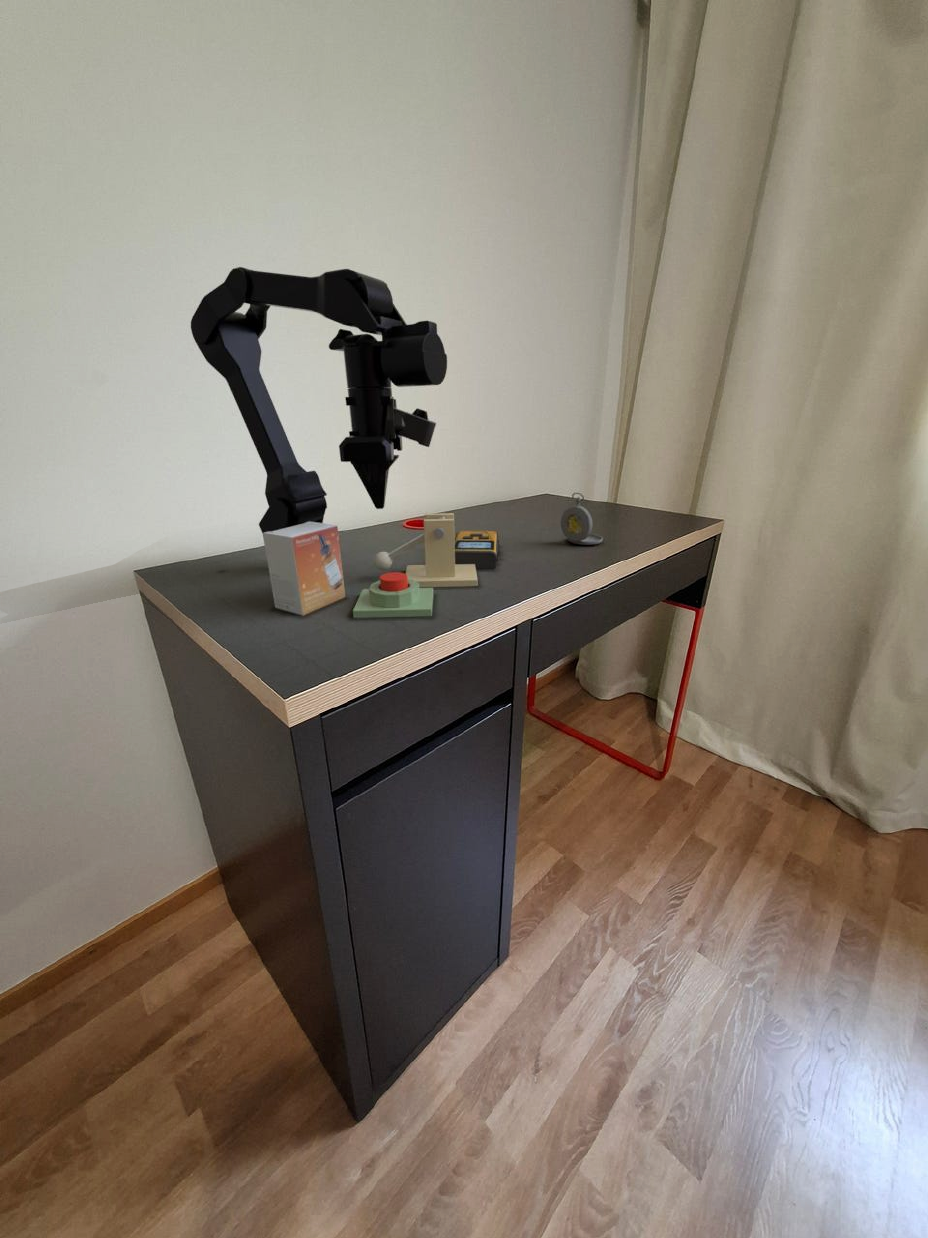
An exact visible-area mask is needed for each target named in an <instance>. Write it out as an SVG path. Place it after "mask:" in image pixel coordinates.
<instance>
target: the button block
mask: <svg viewBox="0 0 928 1238" xmlns="http://www.w3.org/2000/svg"><path fill="white" fill-rule="evenodd" d="M433 605H434V587H419V583H417V582H416V581H414V580H411V579H408V588H407V589H405V590H401V591H395V592H388V591H383V590H381V585H380V579H379V580H377V581H375V582H373V583H371V584H370V585H369V588H363V589H362V590H361V592H360V594H359V597H358V599H357V600H356V603H355V605H354V607H353V609H352V617H353V618H354V619H367V618H369V619H370V618H405V617H406V618H407V617H409V618H410V617H411V618H413V617H433Z"/></svg>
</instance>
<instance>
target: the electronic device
mask: <svg viewBox="0 0 928 1238" xmlns="http://www.w3.org/2000/svg"><path fill="white" fill-rule="evenodd" d="M455 534H456V535H455V536H454V537H455V564H475V568H476V570H495V569H496V568H497V563H498V561H499V556H500V539H499V533H498V532H496V531H494V530H460V531H459V532H457V533H455Z"/></svg>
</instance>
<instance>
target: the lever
mask: <svg viewBox="0 0 928 1238" xmlns="http://www.w3.org/2000/svg"><path fill="white" fill-rule="evenodd" d="M439 519H445V517H444V516H443V517H441V518H439ZM424 543H425V541H424V533H422V534H420V535H418V536H416V537H415V538H412V539H411V540H409V541H408V542H406V543H404V544H403V545H401V546H399V547H397V548H396V549H393V550H391V551H390V552H387V551H380V552H377V553H376V554H375V555H374V559H373V563H374V566H375V567H376V568H377V569H378V570H380V571H386V570H389V569H390V568H392V566H393V561H394V560H396V559H398V558H399V557H401V556H402V555H404V554H406V553H408V552H409V551H411V550H413V549H415V548H416V547H418V546H420V545H422V544H424Z"/></svg>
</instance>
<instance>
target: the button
mask: <svg viewBox="0 0 928 1238" xmlns="http://www.w3.org/2000/svg"><path fill="white" fill-rule="evenodd" d="M379 580H380V585H381V590H383V591H388V592H395V591H401V590H405V589H407V588H408V579H407V575H406V573H405V572H399V571H398V572H397V571H396V572H395V571H394V572H386V573H382V574H381V575H380V576H379Z"/></svg>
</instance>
